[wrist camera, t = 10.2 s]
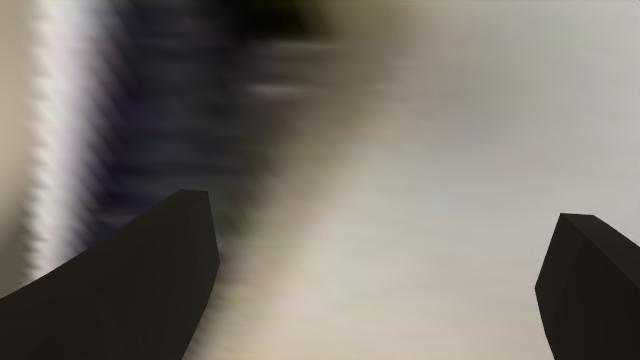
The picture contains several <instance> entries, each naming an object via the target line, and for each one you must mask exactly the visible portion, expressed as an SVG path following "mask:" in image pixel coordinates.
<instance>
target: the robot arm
mask: <svg viewBox="0 0 640 360" xmlns="http://www.w3.org/2000/svg"><path fill="white" fill-rule="evenodd" d="M219 265H220V259H219V254H218V248H217V242H216V236H215V230H214V225H213V219H212V213H211V207H210V201H209V196H208V191H196V190H179V191H177V192H175V193H174V194H172V195H170V196H169V197H167V198H166V199H164V200H162V201H161V202H159V203H158V204H156V205H155V206H153V207H152V208H150V209H149V210H147V211H146V212H144V213H143V214H141V215H140V216H138V217H137V218H135V219H134V220H132V221H131V222H129V223H128V224H126V225H125V226H123V227H122V228H120V229H119V230H117V231H115V232H114V233H112V234H111V235H109V236H108V237H106V238H105V239H103V240H102V241H100V242H99V243H97V244H95V245H94V246H92V247H91V248H89V249H87V250H86V251H84V252H82V253H81V254H79V255H77V256H76V257H74V258H72V259H71V260H69V261H67V262H66V263H64V264H62V265H61V266H59V267H57V268H56V269H54V270H53V271H51V272H49V273H48V274H46V275H44V276H42V277H40V278H39V279H37V280H35V281H33V282H31V283H30V284H28V285H26V286H24V287H22V288H20V289H19V290H17V291H15V292H13V293H11V294H9V295H7V296H5V297H3V298H1V299H0V360H182V358H183V355H184V353H185V351H186V349H187V347H188V345H189V343H190V341H191V338H192V336H193V334H194V332H195V330H196V328H197V325H198V323H199V321H200V319H201V317H202V315H203V312H204V310H205V308H206V306H207V303H208V300H209V297H210V294H211V291H212V288H213V285H214V282H215V278H216V275H217V272H218V268H219ZM535 292H536V297H537V302H538V306H539V311H540V315H541V319H542V323H543V327H544V331H545V335H546V337H547V340H548V343H549V346H550V348H551V351H552V353H553V356H554V359H555V360H640V247H639V246H638V245H636V244H635V243H633V242H632V241H631V240H629V239H628V238H627V237H625V236H624V235H622V234H621V233H620V232H618V231H617V230H615V229H614V228H612V227H611V226H610V225H608V224H607V223H605V222H604V221H602V220H600V219H599V218H597V217H596V216H594V215H583V214H567V213H560V216H559V219H558V222H557V224H556V227H555V230H554V233H553V236H552V239H551V242H550V245H549V248H548V251H547V253H546V256H545V259H544V262H543V265H542V268H541V271H540V274H539V277H538V280H537V282H536V285H535Z"/></svg>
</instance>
